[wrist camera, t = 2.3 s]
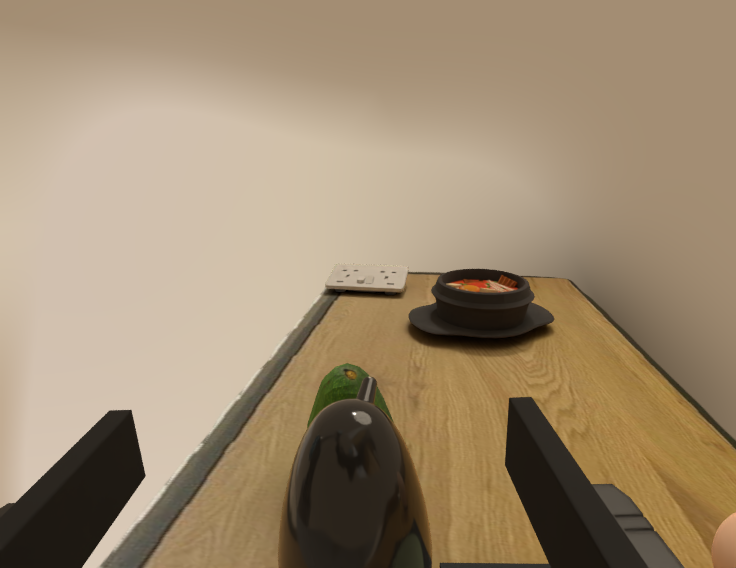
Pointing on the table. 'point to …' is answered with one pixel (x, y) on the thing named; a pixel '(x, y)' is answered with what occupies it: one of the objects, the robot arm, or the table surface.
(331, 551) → the pump dispenser
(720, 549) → the egg
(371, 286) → the wall socket
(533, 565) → the placemat
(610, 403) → the table surface
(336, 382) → the avocado
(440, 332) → the casserole
